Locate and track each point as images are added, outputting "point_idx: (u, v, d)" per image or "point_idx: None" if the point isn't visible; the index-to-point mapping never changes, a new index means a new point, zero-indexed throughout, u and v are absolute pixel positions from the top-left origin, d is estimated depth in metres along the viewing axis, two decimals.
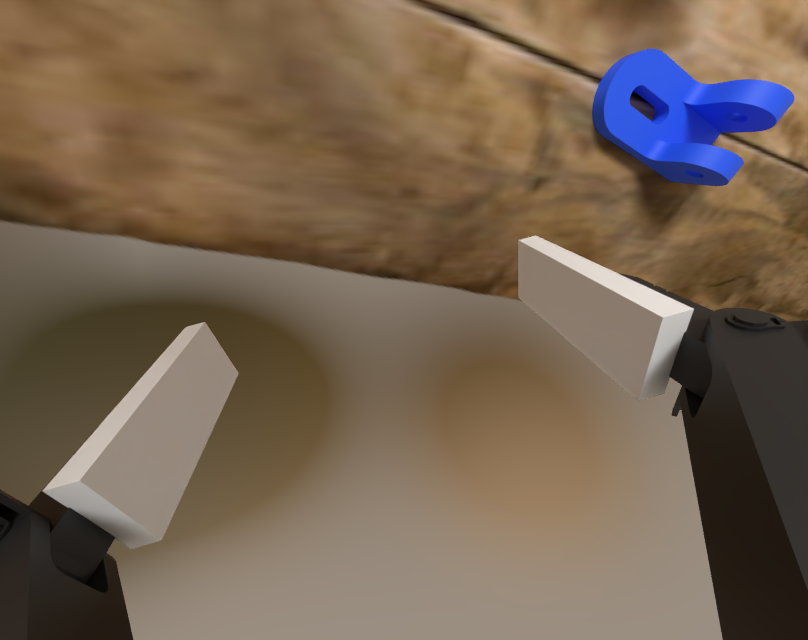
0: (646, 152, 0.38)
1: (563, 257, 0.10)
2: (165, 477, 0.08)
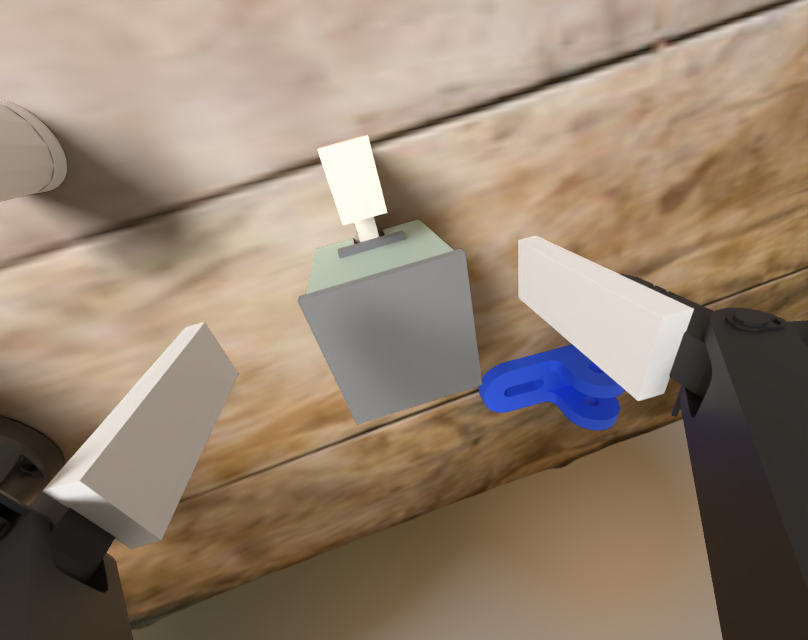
0: (544, 400, 0.47)
1: (563, 257, 0.10)
2: (165, 477, 0.08)
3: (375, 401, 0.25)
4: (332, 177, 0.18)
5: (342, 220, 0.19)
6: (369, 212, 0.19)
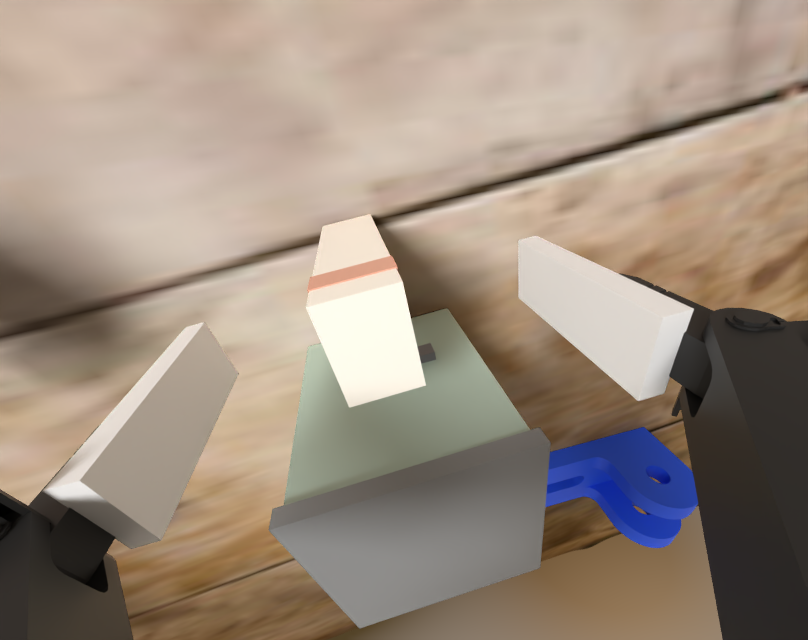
0: (582, 495, 0.39)
1: (563, 257, 0.10)
2: (165, 477, 0.08)
3: (387, 605, 0.17)
4: (332, 347, 0.10)
5: (349, 401, 0.11)
6: (395, 387, 0.11)
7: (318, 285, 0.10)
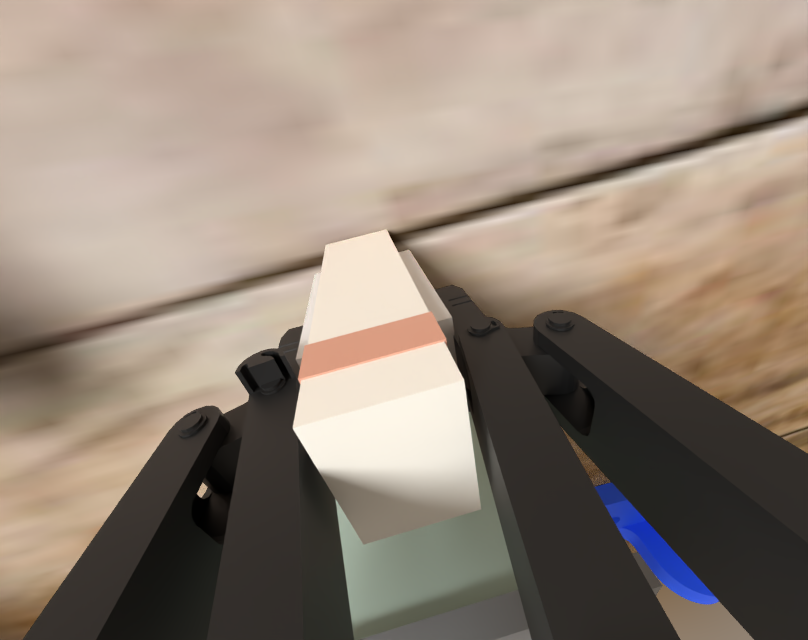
0: None
1: (410, 270, 0.12)
2: None
3: None
4: (339, 477, 0.06)
5: (363, 538, 0.07)
6: (435, 516, 0.07)
7: (316, 368, 0.06)
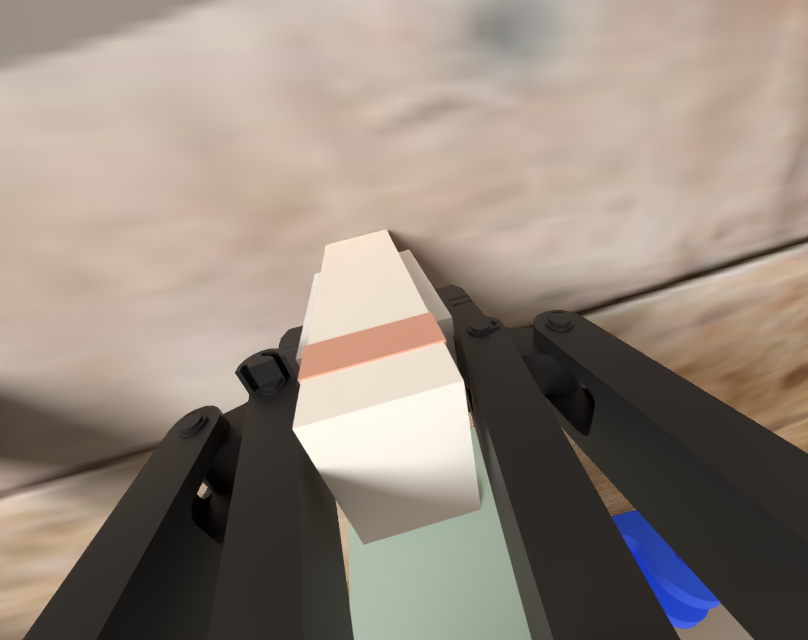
0: None
1: (410, 270, 0.12)
2: None
3: None
4: (339, 477, 0.06)
5: (363, 538, 0.07)
6: (435, 516, 0.07)
7: (316, 369, 0.06)
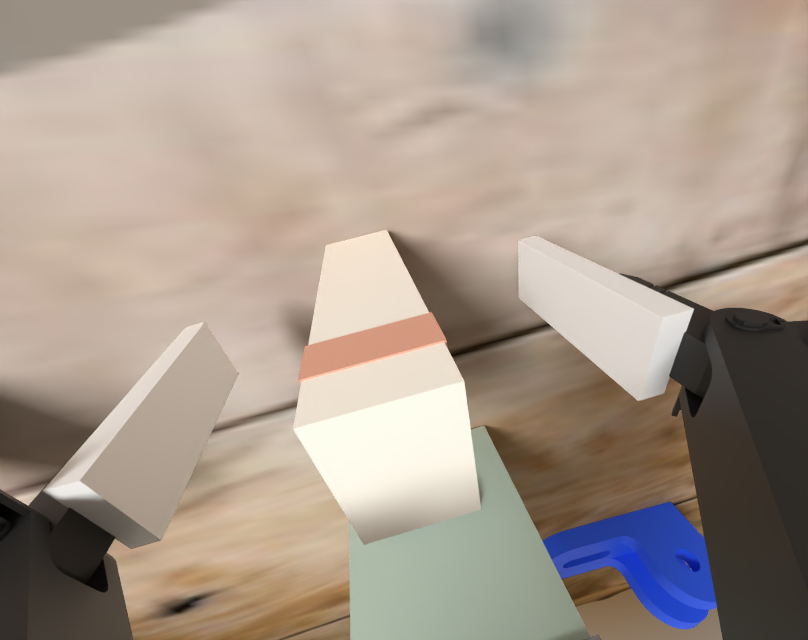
0: (606, 564, 0.39)
1: (563, 257, 0.10)
2: (165, 477, 0.08)
3: None
4: (340, 477, 0.06)
5: (363, 538, 0.07)
6: (436, 516, 0.07)
7: (317, 369, 0.06)
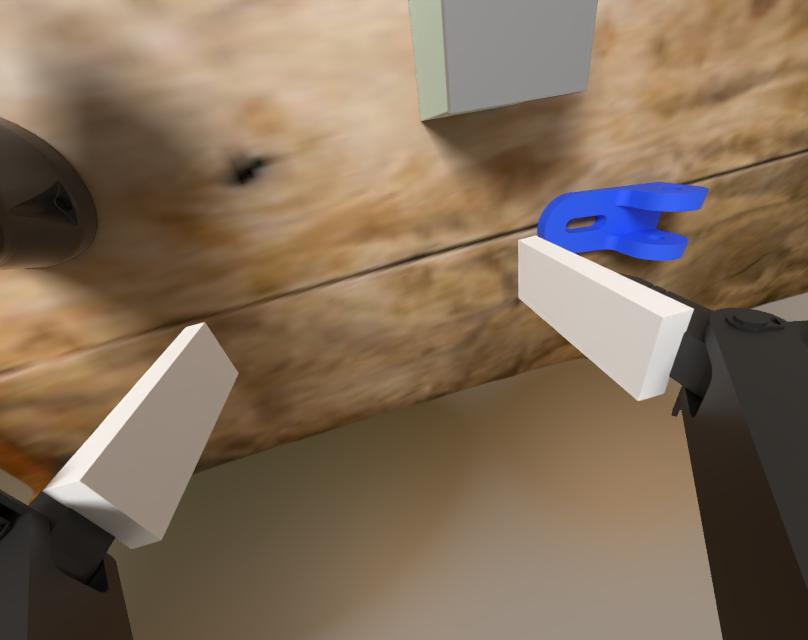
0: (602, 247, 0.45)
1: (563, 257, 0.10)
2: (165, 477, 0.08)
3: (477, 78, 0.23)
4: None
5: None
6: None
7: None
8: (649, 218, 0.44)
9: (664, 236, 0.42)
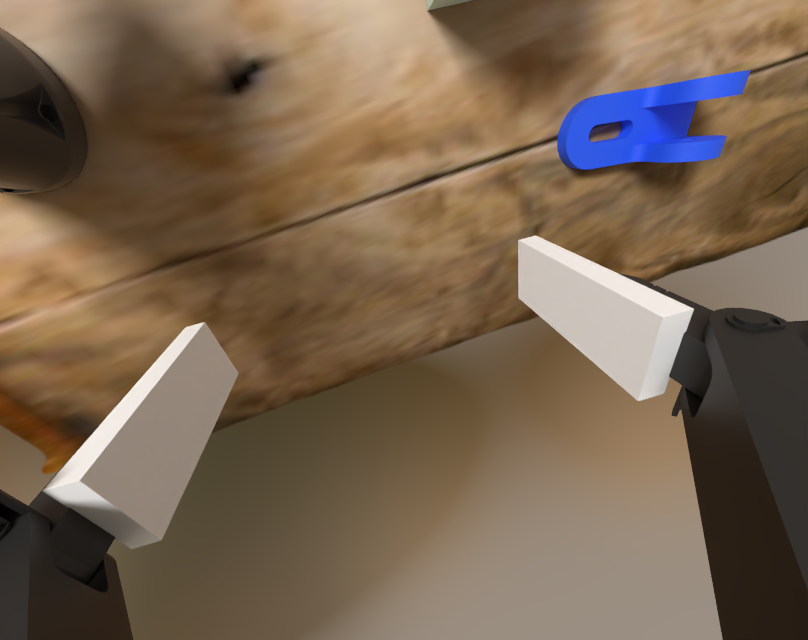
0: (628, 159, 0.42)
1: (563, 257, 0.10)
2: (165, 477, 0.08)
3: None
4: None
5: None
6: None
7: None
8: (679, 123, 0.40)
9: (698, 138, 0.38)
